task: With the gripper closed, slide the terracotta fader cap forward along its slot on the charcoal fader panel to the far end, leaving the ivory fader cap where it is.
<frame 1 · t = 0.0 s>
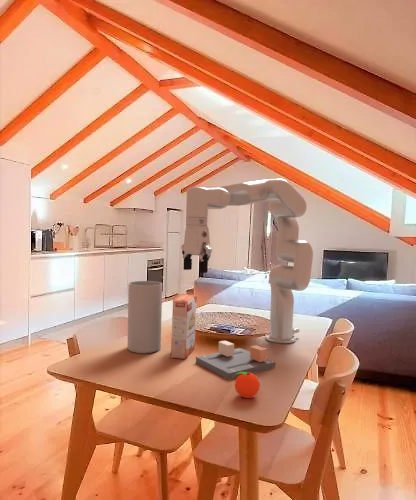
hand: (195, 271, 145), 31 cm above the table, tool pointing down, fingers open, 9 cm apart
ivory fader: (226, 348, 144), point 5 cm above the table, slide at 6.0 cm
cylinder vase: (144, 349, 156), on the table
fader panel: (234, 365, 141), on the table
clementine: (244, 397, 115), on the table
cracker box: (183, 353, 152), on the table
terracotta fader: (258, 353, 140), point 5 cm above the table, slide at 0.0 cm
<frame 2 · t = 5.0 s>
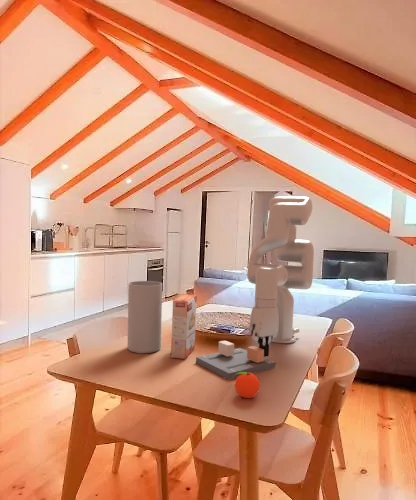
hand: (263, 355, 141), 3 cm above the table, tool pointing down, fingers closed
terracotta fader: (255, 354, 139), point 4 cm above the table, slide at 1.3 cm, touching gripper
everything else where it was.
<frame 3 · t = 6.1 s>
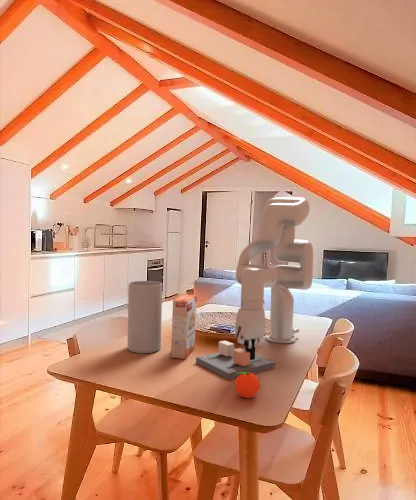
hand: (249, 358, 138), 3 cm above the table, tool pointing down, fingers closed
terracotta fader: (241, 357, 135), point 5 cm above the table, slide at 7.7 cm, touching gripper
everything else where it was.
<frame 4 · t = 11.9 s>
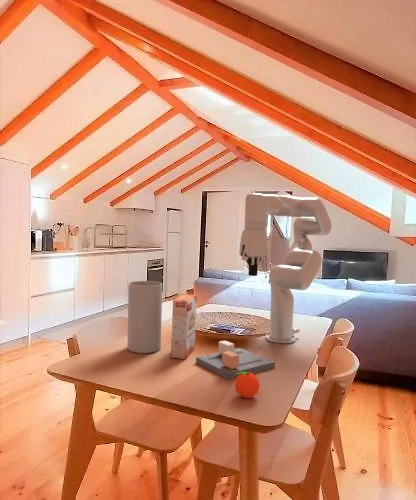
hand: (252, 275, 155), 29 cm above the table, tool pointing down, fingers closed
terracotta fader: (230, 359, 133), point 5 cm above the table, slide at 12.3 cm
everything else where it was.
at the end: terracotta fader slide at 12.3 cm; ivory fader slide at 6.0 cm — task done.
